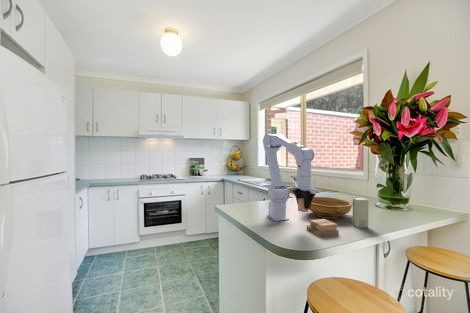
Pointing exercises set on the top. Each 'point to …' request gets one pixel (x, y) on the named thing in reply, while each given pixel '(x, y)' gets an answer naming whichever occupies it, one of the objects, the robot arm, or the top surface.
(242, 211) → the top surface
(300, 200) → the peach capsule
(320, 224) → the top block
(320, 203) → the wooden bowl
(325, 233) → the bottom block
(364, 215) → the box
